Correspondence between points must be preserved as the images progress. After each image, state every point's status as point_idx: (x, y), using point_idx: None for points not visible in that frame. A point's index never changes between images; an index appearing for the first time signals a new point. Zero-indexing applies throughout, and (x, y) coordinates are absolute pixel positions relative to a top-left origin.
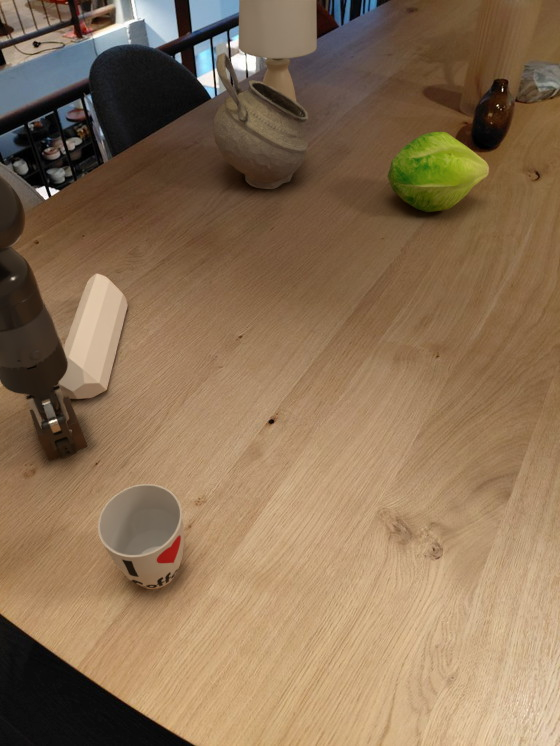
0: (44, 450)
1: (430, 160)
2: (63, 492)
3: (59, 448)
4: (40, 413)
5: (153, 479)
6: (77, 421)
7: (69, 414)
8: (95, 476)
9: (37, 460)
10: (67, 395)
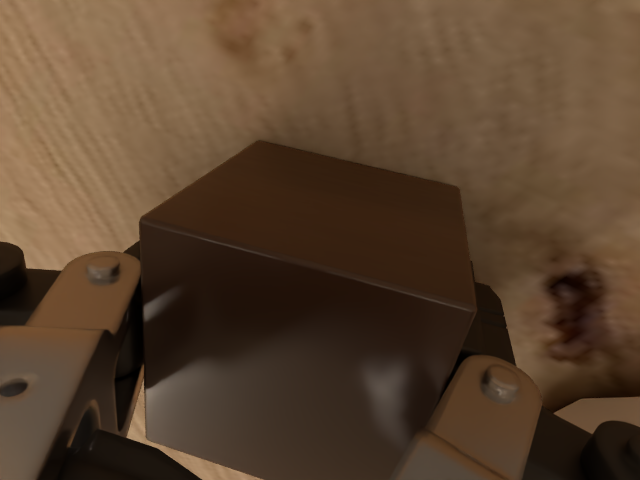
0: (218, 167)
1: None
2: (60, 112)
3: (137, 244)
4: (363, 344)
5: None
6: (151, 439)
7: (229, 445)
8: (88, 248)
9: (297, 93)
10: (580, 421)
